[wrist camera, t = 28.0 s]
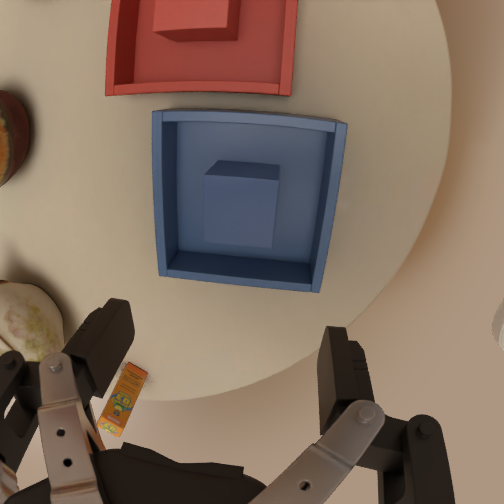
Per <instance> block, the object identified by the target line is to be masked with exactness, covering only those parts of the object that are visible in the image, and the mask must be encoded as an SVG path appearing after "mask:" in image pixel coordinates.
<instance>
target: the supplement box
mask: <svg viewBox="0 0 504 504" xmlns="http://www.w3.org/2000/svg"><path fill="white" fill-rule="evenodd" d="M147 374H148V373H147V372H145V371H143V370H141V369H140V368H138V367H136V366H134V365H132V364H131V363H128V364H127V365H126V367H125V368H124V370H123V372H122V374H121V376H120V378H119V380H118V382H117V384H116V386H115V388H114V390H113V392H112V394H111V396H110V398H109V400H108V402H107V404H106V406H105V408H104V410H103V412H102V414H101V416H100V418H99V420H98V422H97V426H98V427H100V428H102V429H104V430H106V431H108V432H109V433H111V434H113V435H114V436H116V437H120V436H121V433H122V431H123V430H124V427H125V425H126V423H127V420H128V418H129V416H130V414H131V411H132V409H133V407H134V405H135V402H136V400H137V398H138V395H139V393H140V391H141V388H142V386H143V384H144V382H145V379H146V377H147Z"/></svg>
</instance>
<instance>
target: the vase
mask: <svg viewBox="0 0 504 504" xmlns="http://www.w3.org/2000/svg"><path fill="white" fill-rule="evenodd" d="M29 136H30V129H29V121H28V117H27V114H26V111H25V109H24V107H23V105H22V104H21V103H20V101H19V100H18V99H17V98H16V97H15V96H13V95H12V94H10V93H8V92H6V91H3V90H0V187H1V186H2V185H4V184H5V183H6V182H7V181H8V180H9V179H10V178H11V177H12V176H13V175H14V174H15V173H16V171H17V170H18V169H19V167H20V166H21V164H22V162H23V160H24V158H25V155H26V153H27V149H28V145H29Z"/></svg>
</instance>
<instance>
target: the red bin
mask: <svg viewBox="0 0 504 504" xmlns="http://www.w3.org/2000/svg"><path fill="white" fill-rule="evenodd" d="M297 5H298V0H241V4H240V16H239V29H238V40H237V41H189V42H174V41H172V40H170V39H168V38H165V37H163V36H161V35H159V34H156V33H154V32H152V29H153V18H154V9H155V0H112V3H111V12H110V21H109V31H108V43H107V57H106V79H105V96H116V95H132V94H147V93H168V92H229V93H251V94H266V95H278V96H291V88H292V75H293V62H294V49H295V35H296V20H297Z"/></svg>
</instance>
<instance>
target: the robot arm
mask: <svg viewBox="0 0 504 504" xmlns="http://www.w3.org/2000/svg"><path fill="white" fill-rule="evenodd" d="M134 335H135V329H134V324H133V319H132V313H131V308H130V304H129V302H128V301H127V300H121V299H116V298H110V299H109V300H108V301H107V303H106V304H105V305H104V307H103V308H100V307H99V308H98V309H96V310H94V311H93V312H91V313H90V314H89V315H88V317H87V318H86V319H85V320H84V323H82V324H81V326H80V327H79V330H77V331H76V332H75V334H74V335H73V336H72V338H71V339H70V340H69V342H68V343H67V344H66V346H65V347H64V349H63V350H62V351H61V352H55V353H51V354H49V355H47V356H45V357H44V358H43V359H42V361H41V362H37V361H25V359H24V357H23V355H22V354H21V353H20V352H19V351H15V350H11V351H7V352H5V353H3V354H2V355H1V356H0V504H323V503H324V502H325V501H326V500H327V499H328V498H329V497H330V495H331V494H332V493H333V492H334V491H335V490H336V488H337V487H338V486H339V485H340V483H341V482H342V481H343V480H344V478H345V477H346V476H347V475H348V473H349V472H350V471H351V470H352V468H353V467H354V466H355V465H357V466H361V467H365V468H369V469H373V470H377V473H378V499H379V504H455V498H454V491H453V485H452V479H451V473H450V467H449V462H448V457H447V452H446V447H445V443H444V438H443V433H442V429H441V426H440V424H439V423H438V421H437V420H436V419H434V418H433V417H431V416H428V415H422V414H421V415H416V416H414V417H412V418H411V419H410V420H409V421H404V420H400V419H396V418H392V417H389V416H387V415H385V414H384V411H383V410H382V408H381V407H380V406H379V405H378V404H376V403H375V400H374V396H373V390H372V385H371V381H370V376H369V372H368V367H367V363H366V358H365V353H364V350H363V348H361V346H360V345H359V343H358V342H357V341H349V340H348V336H347V332H346V328H345V327H333V326H326V328H325V332H324V335H323V339H322V343H321V347H320V350H319V354H318V360H317V375H318V395H319V415H320V435H323V436H322V437H321V438H320V439H319V440H318V441H317V442H316V443H315V444H314V443H313V444H311V445H310V446H309V447H308V448H307V449H306V450H305V451H304V452H303V453H302V454H301V455H300V456H299V457H298V458H297V459H296V460H295V461H294V462H293V463H292V464H291V465H290V466H289V467H288V468H287V469H286V470H285V471H284V472H283V473H282V474H281V475H279V476H278V477H277V478H276V479H275V480H274V481H273V482H272V483H271V484H270V485H269V486H268V487H267V486H266V485H264V484H263V483H262V482H260V481H258V480H257V479H255V478H252V477H250V476H248V475H245V474H243V470H244V467H241V466H233V465H226V464H220V463H212V462H211V463H178V462H175V461H173V460H171V459H169V458H167V457H165V456H163V455H161V454H159V453H157V452H155V451H153V450H151V449H147V448H144V447H140V446H137V445H133V444H130V443H126V442H123V445H122V447H121V449H108V450H106V449H105V447H104V445H103V442H102V440H101V437H100V434H99V431H98V427H97V424H96V420H95V417H94V413H93V409H92V406H91V403H90V400H91V398H92V396H96V397H99V398H103V396H104V394H105V392H106V390H107V389H108V387H109V385H110V383H111V381H112V379H113V377H114V375H115V374H116V372H117V370H118V368H119V366H120V364H121V362H122V361H123V359H124V357H125V355H126V353H127V352H128V350H129V348H130V346H131V344H132V342H133V340H134ZM13 396H14V397H15V399H16V400H15V402H14V404H13V405H12V407H11V409H10V411H9V412H8V414H7V416H6V418H5V419H4V412H5V410H6V408H7V406H8V405H9V403H10V401H11V399H12V398H13ZM38 425H39V428H40V435H41V441H42V447H43V453H44V458H45V463H46V467H47V472H48V476H49V477H48V478H46V479H44V480H42V481H40V482H38V483H36V484H34V485H31V486H29V487H27V488H25V489H23V490H21V491H19V487H18V485H17V477H16V472H17V470H18V467H19V465H20V463H21V460H22V458H23V456H24V454H25V452H26V450H27V448H28V445H29V443H30V441H31V439H32V437H33V435H34V433H35V431H36V429H37V427H38Z"/></svg>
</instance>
